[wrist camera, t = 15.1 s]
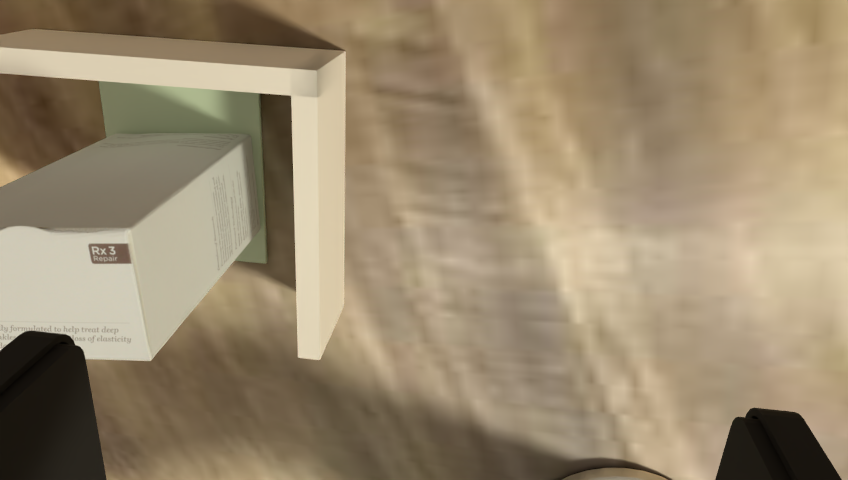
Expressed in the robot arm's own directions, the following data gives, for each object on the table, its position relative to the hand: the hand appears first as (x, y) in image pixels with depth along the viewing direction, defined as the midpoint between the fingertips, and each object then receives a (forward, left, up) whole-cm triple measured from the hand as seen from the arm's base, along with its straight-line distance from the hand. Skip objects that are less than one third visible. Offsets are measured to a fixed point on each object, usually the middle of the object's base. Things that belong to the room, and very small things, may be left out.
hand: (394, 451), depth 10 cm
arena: (-6, +16, -28) cm, 33 cm away
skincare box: (-6, +16, -28) cm, 33 cm away
